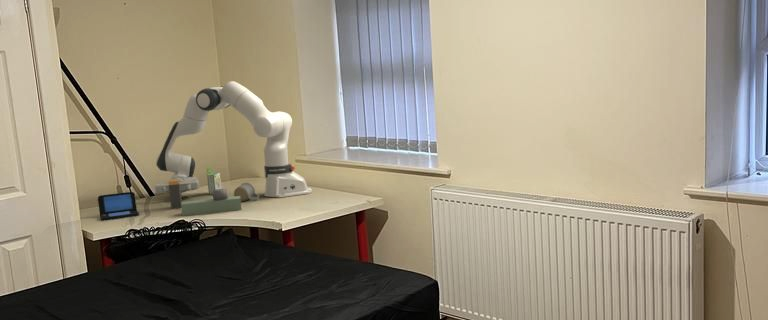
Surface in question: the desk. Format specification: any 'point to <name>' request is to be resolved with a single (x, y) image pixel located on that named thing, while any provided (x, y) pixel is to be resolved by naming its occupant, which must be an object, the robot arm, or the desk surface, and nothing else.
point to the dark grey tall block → (175, 194)
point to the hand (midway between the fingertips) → (176, 189)
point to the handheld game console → (117, 206)
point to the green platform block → (212, 204)
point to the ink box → (213, 180)
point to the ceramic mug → (246, 192)
